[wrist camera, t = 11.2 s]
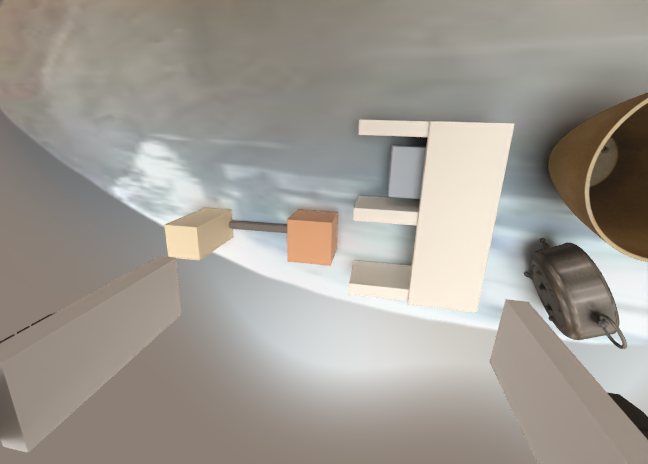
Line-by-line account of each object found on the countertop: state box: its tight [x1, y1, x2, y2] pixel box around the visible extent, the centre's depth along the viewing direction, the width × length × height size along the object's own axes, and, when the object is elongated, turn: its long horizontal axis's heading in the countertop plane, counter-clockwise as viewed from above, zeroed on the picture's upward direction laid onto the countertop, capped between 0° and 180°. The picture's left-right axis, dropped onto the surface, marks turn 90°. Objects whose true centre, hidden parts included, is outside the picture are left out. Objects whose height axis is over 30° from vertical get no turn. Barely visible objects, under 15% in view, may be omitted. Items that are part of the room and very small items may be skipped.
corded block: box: [164, 208, 338, 265], centre depth 45 cm, size 6×21×10 cm, turn 89°
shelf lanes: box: [349, 120, 514, 313], centre depth 41 cm, size 22×16×9 cm
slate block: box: [388, 145, 426, 199], centre depth 41 cm, size 6×6×6 cm
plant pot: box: [548, 93, 648, 262], centre depth 32 cm, size 15×15×16 cm
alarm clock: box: [524, 238, 627, 349], centre depth 37 cm, size 11×5×16 cm, turn 24°
